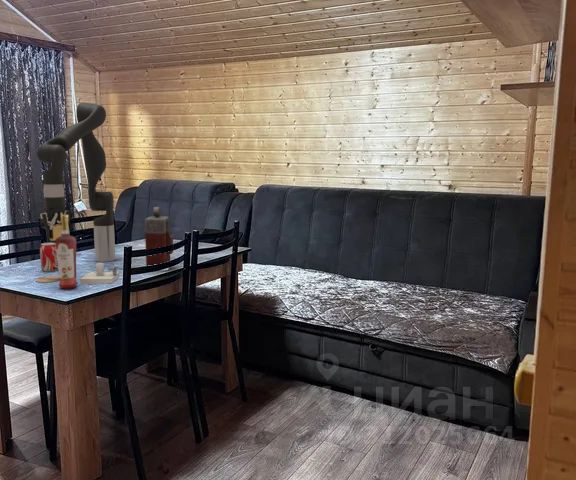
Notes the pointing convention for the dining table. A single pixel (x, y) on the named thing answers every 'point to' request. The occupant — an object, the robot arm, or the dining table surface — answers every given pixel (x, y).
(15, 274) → the dining table surface
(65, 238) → the liquor
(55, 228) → the cap
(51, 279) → the coaster
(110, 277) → the bayonet post
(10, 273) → the dining table surface
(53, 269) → the soda can
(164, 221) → the glass decanter
